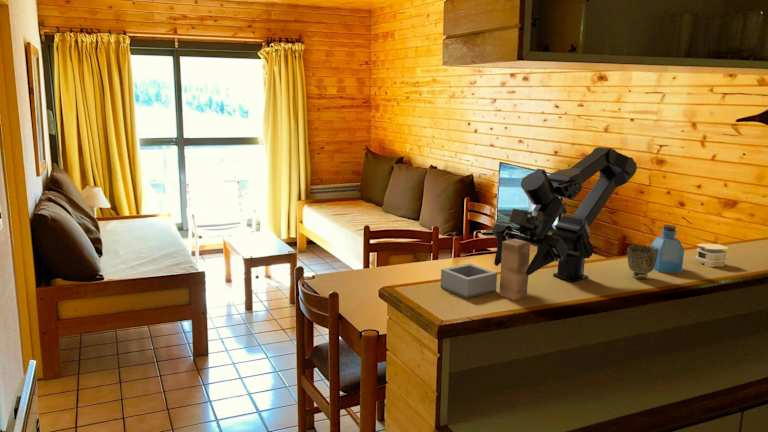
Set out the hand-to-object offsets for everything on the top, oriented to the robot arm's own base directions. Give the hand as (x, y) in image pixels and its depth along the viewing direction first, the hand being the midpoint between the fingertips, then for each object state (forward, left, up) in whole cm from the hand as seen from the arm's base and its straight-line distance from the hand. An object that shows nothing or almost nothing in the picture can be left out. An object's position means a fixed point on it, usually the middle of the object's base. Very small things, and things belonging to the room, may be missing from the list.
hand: (510, 269), depth 145 cm
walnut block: (-1, 0, -7) cm, 7 cm away
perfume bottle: (-52, +7, -7) cm, 53 cm away
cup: (-39, +8, -7) cm, 41 cm away
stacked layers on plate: (-68, +11, -7) cm, 69 cm away
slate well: (+5, -9, -7) cm, 12 cm away
